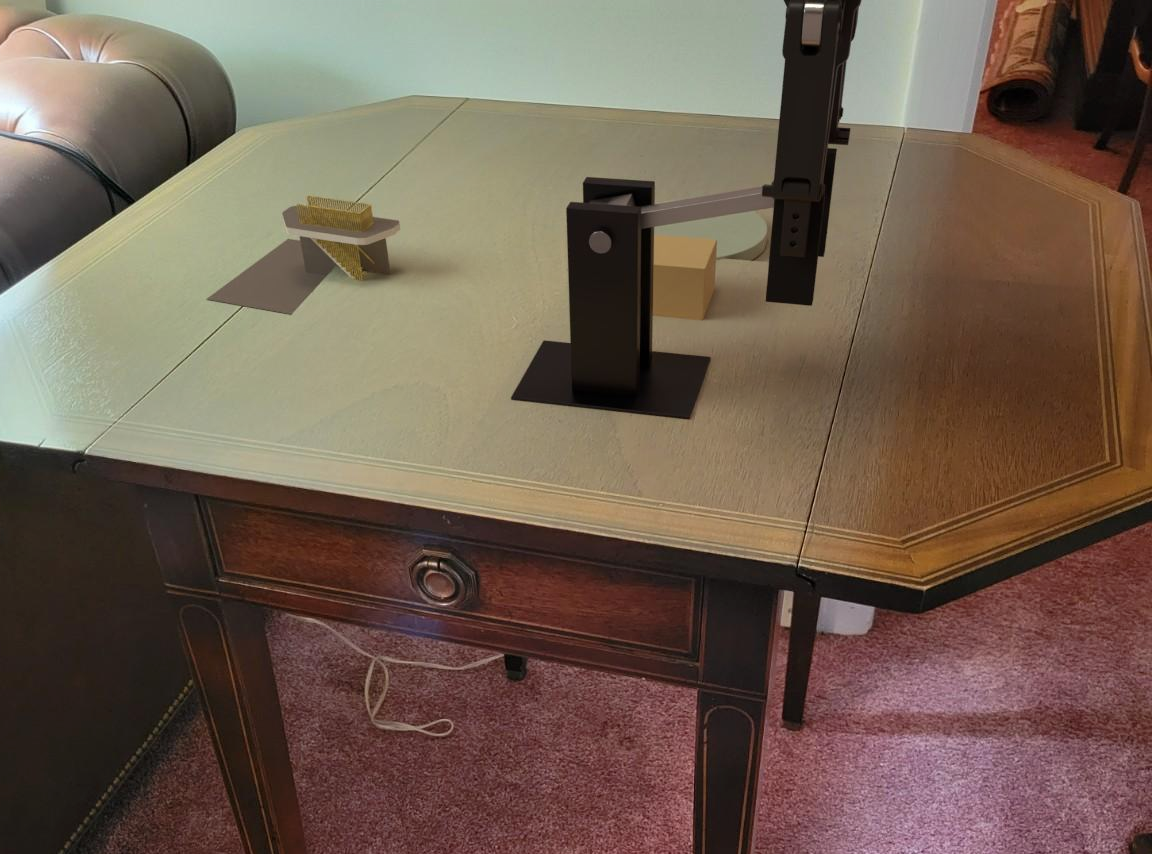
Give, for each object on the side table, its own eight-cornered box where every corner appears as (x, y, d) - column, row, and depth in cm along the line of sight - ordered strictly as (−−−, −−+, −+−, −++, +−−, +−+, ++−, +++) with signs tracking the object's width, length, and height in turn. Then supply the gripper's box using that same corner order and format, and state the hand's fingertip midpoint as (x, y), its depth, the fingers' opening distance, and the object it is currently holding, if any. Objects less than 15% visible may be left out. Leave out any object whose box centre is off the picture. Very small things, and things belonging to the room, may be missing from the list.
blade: (826, 188, 73) (821, 149, 72) (816, 229, 69) (810, 188, 68) (606, 224, 79) (597, 188, 77) (583, 264, 74) (573, 227, 73)
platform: (406, 334, 90) (396, 251, 86) (206, 299, 96) (186, 219, 92) (476, 267, 99) (470, 188, 94) (288, 238, 104) (274, 162, 100)
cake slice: (714, 301, 93) (717, 239, 89) (702, 332, 89) (705, 268, 86) (649, 296, 94) (650, 233, 90) (635, 326, 90) (636, 262, 87)
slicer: (709, 371, 85) (720, 175, 76) (688, 432, 79) (697, 228, 70) (544, 354, 87) (534, 163, 78) (511, 412, 81) (498, 213, 72)
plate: (775, 217, 104) (776, 203, 103) (755, 278, 95) (756, 264, 94) (638, 207, 107) (638, 193, 106) (606, 266, 98) (606, 252, 97)
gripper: (788, -197, 67) (756, 209, 82) (734, -131, 53) (708, 344, 68) (928, -197, 65) (870, 218, 80) (911, -129, 51) (844, 357, 66)
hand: (796, 275), depth 74 cm, fingers closed on blade, 6 cm apart
